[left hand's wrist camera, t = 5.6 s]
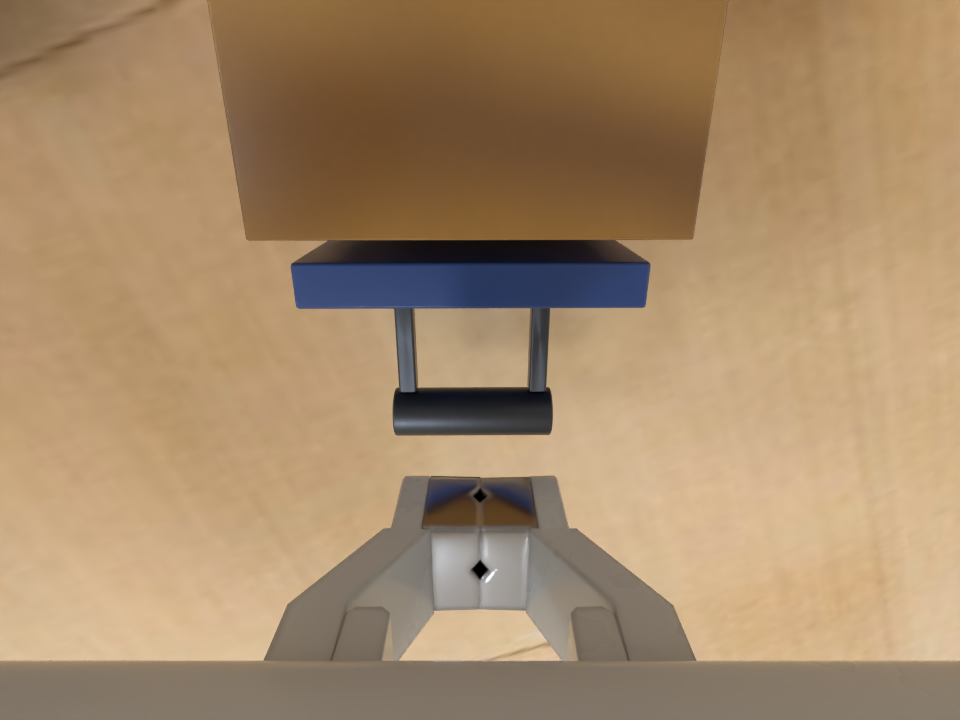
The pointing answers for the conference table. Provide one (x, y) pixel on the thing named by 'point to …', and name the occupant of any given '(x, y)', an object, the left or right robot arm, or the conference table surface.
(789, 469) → the conference table surface
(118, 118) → the conference table surface
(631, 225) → the cabinet
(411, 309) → the drawer
